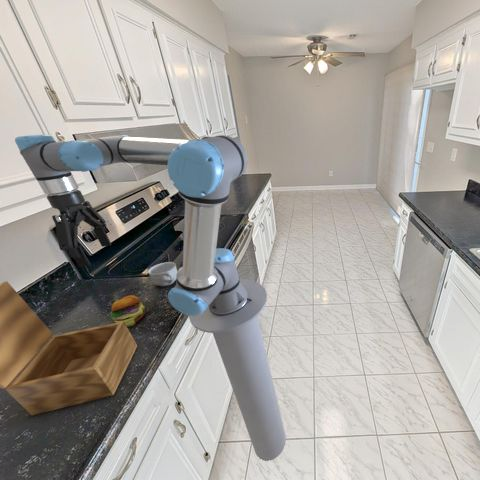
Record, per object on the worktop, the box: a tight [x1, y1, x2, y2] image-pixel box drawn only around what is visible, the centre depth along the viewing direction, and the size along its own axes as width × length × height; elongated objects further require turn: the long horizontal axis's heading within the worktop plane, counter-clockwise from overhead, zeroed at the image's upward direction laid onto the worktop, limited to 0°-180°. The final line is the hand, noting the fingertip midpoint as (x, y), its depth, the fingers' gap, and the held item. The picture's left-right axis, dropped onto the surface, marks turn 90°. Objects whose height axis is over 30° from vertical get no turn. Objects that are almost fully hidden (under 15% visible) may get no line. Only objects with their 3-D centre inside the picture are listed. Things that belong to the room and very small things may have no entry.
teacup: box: [147, 261, 178, 287], centre depth 113 cm, size 14×11×8 cm
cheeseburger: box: [109, 294, 146, 328], centre depth 94 cm, size 10×11×10 cm
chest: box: [4, 321, 138, 416], centre depth 72 cm, size 19×17×11 cm
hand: (96, 255), depth 83 cm, fingers open, 13 cm apart
